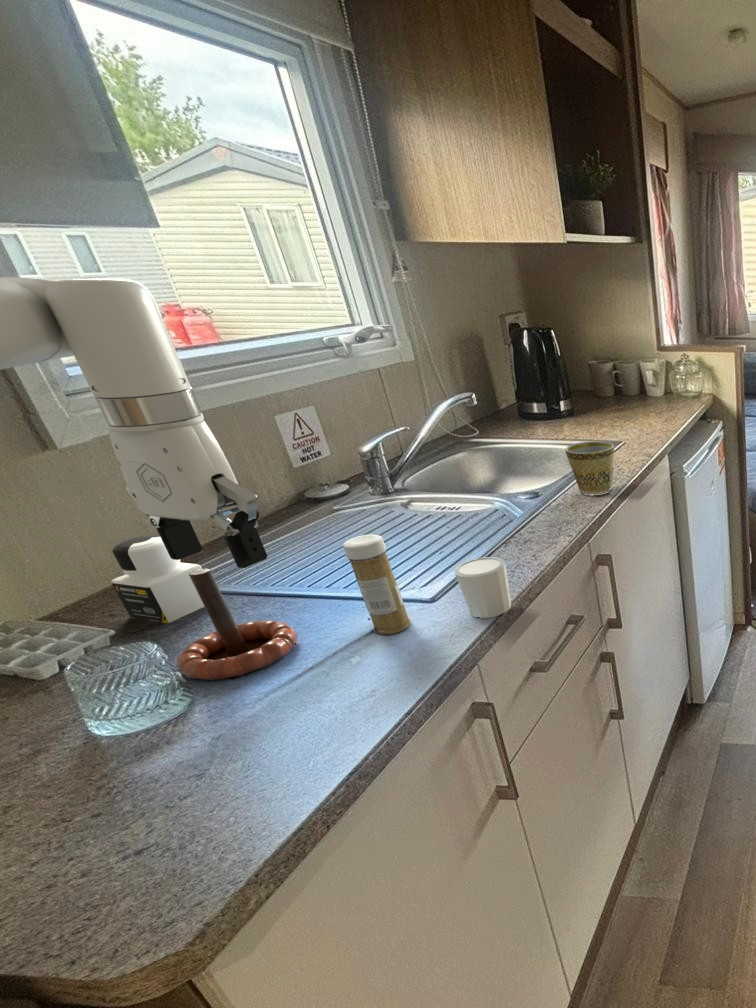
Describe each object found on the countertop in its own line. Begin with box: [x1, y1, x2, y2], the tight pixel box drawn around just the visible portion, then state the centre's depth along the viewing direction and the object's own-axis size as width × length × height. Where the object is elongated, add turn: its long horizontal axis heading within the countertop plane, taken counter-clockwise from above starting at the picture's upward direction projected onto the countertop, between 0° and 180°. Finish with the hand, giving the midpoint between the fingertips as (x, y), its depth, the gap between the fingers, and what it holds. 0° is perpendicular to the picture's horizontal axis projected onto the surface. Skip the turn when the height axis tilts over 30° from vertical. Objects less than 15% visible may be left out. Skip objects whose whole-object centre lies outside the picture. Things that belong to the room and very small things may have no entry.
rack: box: [176, 567, 300, 681], centre depth 82 cm, size 9×9×13 cm
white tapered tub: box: [453, 556, 512, 619], centre depth 96 cm, size 7×7×7 cm
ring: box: [176, 620, 298, 681], centre depth 83 cm, size 12×12×2 cm
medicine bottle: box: [110, 534, 205, 624], centre depth 93 cm, size 7×7×12 cm
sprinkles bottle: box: [342, 534, 411, 636], centre depth 89 cm, size 5×5×13 cm
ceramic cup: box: [564, 440, 615, 495], centre depth 144 cm, size 13×10×10 cm
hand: (220, 559), depth 77 cm, fingers open, 9 cm apart
